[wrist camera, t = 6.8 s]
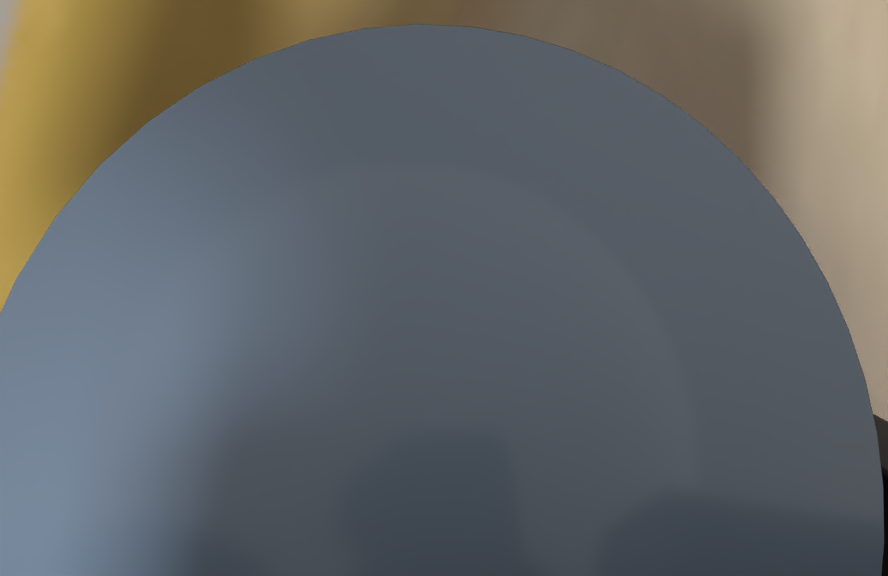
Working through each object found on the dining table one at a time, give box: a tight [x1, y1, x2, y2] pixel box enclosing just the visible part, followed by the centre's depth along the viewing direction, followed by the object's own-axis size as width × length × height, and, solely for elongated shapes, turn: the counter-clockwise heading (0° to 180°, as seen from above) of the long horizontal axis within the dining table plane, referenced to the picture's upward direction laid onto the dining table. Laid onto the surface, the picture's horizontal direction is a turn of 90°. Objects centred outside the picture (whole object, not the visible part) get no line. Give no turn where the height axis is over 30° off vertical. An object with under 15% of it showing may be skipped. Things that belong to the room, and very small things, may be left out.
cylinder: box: [0, 24, 884, 576], centre depth 10 cm, size 5×5×13 cm
